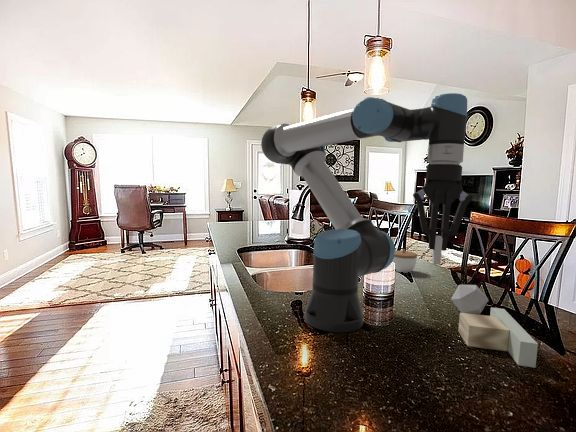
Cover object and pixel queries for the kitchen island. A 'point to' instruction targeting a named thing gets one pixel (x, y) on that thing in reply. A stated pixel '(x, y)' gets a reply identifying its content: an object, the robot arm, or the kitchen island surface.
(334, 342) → the kitchen island surface
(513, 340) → the sage board
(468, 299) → the grey faceted block
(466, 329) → the beech block
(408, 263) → the lidded jar
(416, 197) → the robot arm
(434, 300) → the kitchen island surface
